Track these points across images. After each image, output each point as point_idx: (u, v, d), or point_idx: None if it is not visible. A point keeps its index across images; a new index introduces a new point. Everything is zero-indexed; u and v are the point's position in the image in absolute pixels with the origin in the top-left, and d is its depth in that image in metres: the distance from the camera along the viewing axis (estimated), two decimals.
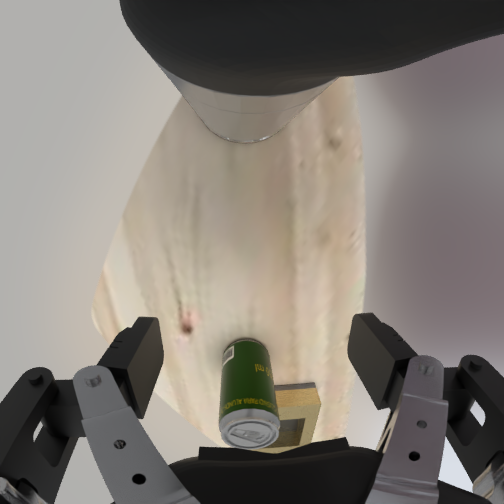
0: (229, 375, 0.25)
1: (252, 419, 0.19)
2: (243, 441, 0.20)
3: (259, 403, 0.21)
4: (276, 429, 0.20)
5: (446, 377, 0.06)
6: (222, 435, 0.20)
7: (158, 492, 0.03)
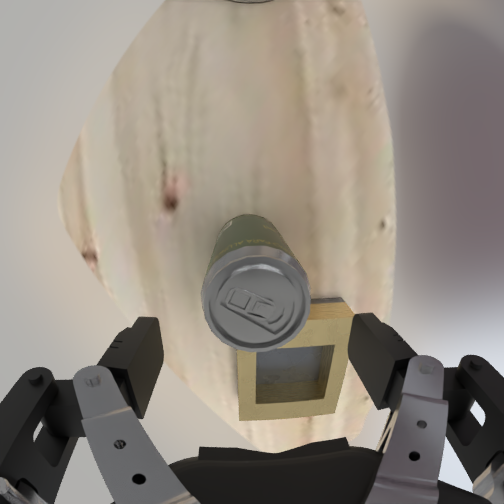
0: (224, 236, 0.18)
1: (262, 257, 0.12)
2: (245, 326, 0.13)
3: (273, 244, 0.14)
4: (306, 291, 0.13)
5: (446, 377, 0.06)
6: (206, 307, 0.12)
7: (158, 491, 0.03)
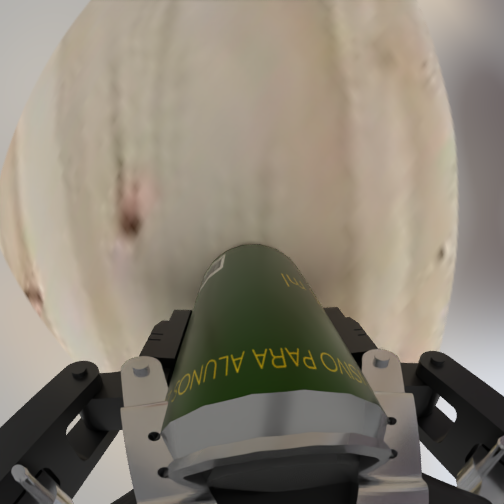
0: (206, 300, 0.09)
1: (306, 447, 0.03)
2: None
3: (323, 367, 0.05)
4: None
5: (405, 372, 0.07)
6: None
7: (180, 488, 0.03)
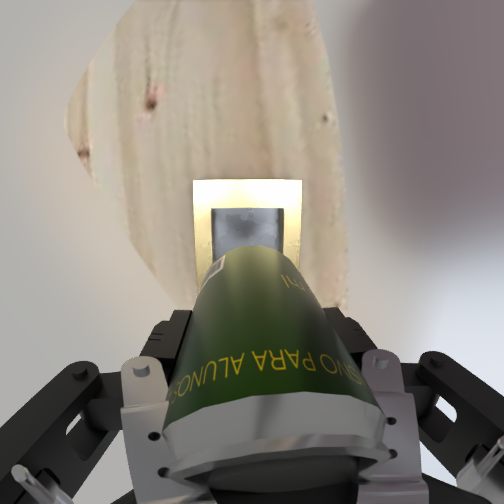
0: (206, 301, 0.09)
1: (305, 448, 0.03)
2: None
3: (323, 369, 0.05)
4: None
5: (405, 372, 0.07)
6: None
7: (180, 487, 0.03)
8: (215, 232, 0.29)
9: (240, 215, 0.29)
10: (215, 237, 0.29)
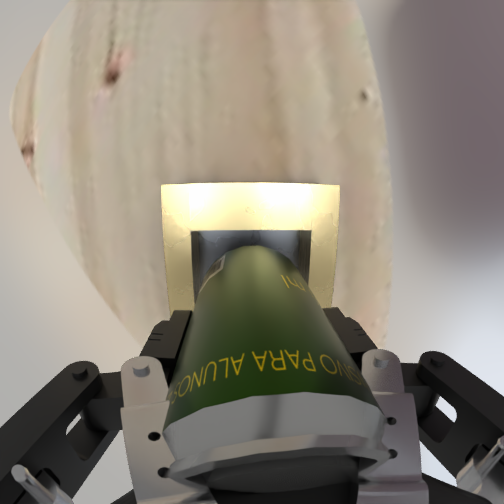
0: (206, 302, 0.09)
1: (305, 449, 0.03)
2: None
3: (323, 369, 0.05)
4: None
5: (405, 372, 0.07)
6: None
7: (180, 488, 0.03)
8: (201, 264, 0.19)
9: (239, 238, 0.19)
10: (201, 271, 0.19)
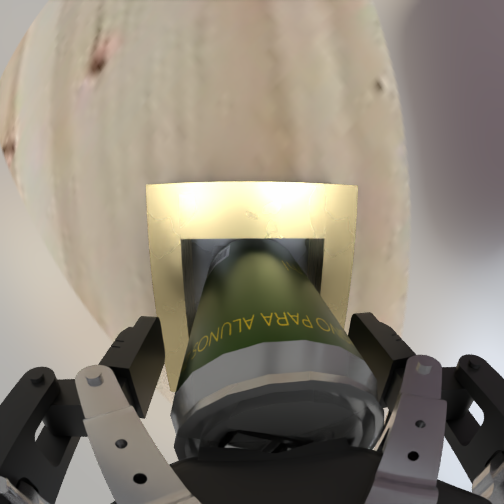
0: (216, 281, 0.10)
1: (306, 382, 0.05)
2: None
3: (319, 327, 0.06)
4: (379, 421, 0.05)
5: (444, 377, 0.06)
6: (180, 452, 0.05)
7: (159, 491, 0.03)
8: (195, 276, 0.17)
9: None
10: (195, 284, 0.17)
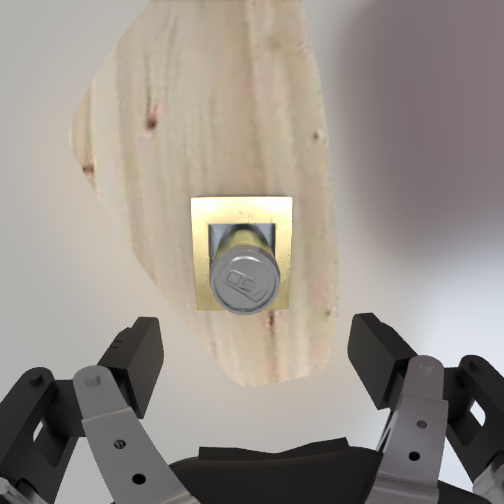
0: (224, 239, 0.25)
1: (248, 251, 0.20)
2: (237, 295, 0.20)
3: (256, 244, 0.21)
4: (276, 274, 0.20)
5: (446, 377, 0.06)
6: (212, 283, 0.20)
7: (158, 491, 0.03)
8: (212, 245, 0.32)
9: None
10: (212, 250, 0.32)
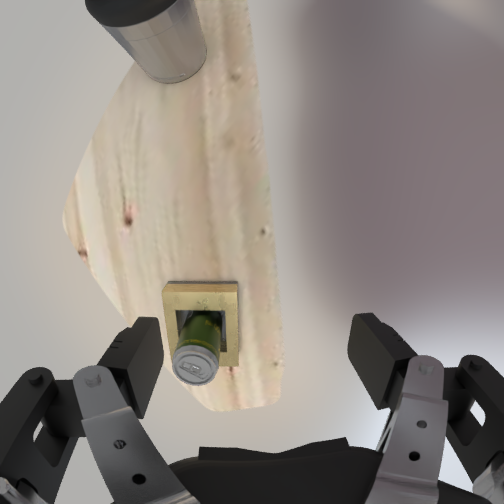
0: (185, 327, 0.34)
1: (194, 352, 0.28)
2: (189, 375, 0.29)
3: (201, 343, 0.30)
4: (213, 365, 0.29)
5: (446, 377, 0.06)
6: (173, 367, 0.29)
7: (158, 491, 0.03)
8: (181, 318, 0.40)
9: None
10: (182, 321, 0.40)
